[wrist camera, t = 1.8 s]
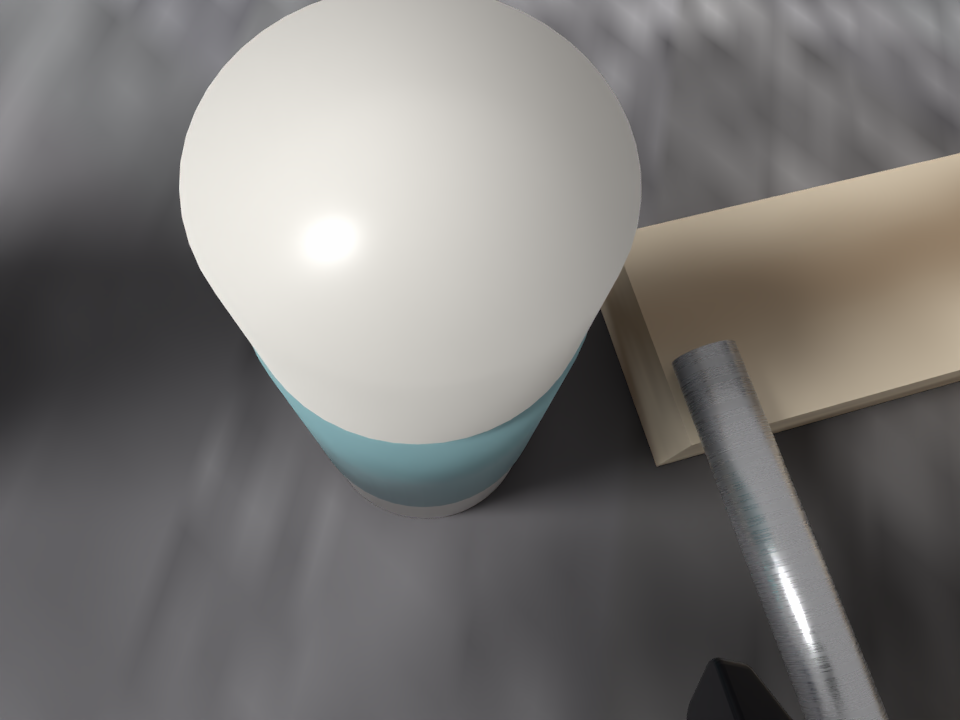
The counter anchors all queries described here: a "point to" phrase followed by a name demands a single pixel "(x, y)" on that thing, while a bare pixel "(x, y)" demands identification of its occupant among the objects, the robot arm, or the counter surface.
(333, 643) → the counter surface
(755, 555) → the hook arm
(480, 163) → the white teal rounded cylinder
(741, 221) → the light wood flat tray
